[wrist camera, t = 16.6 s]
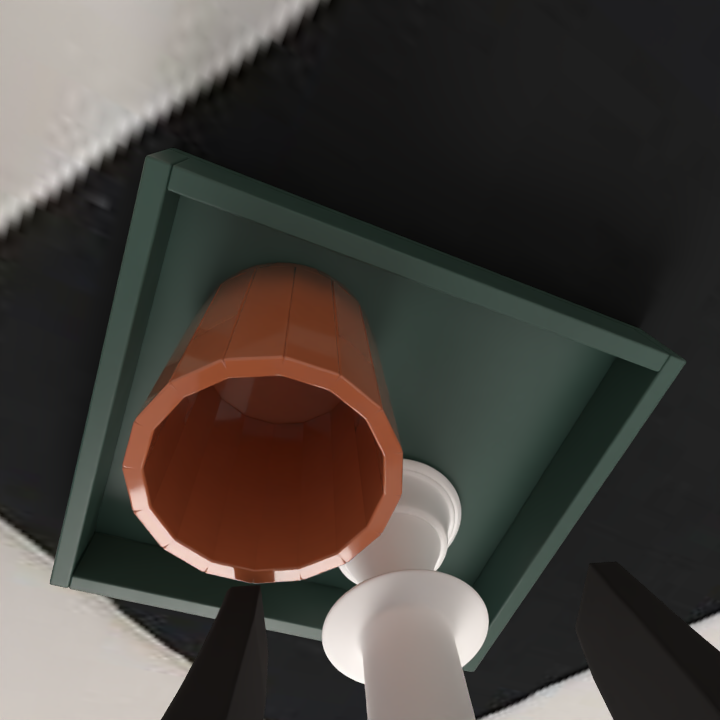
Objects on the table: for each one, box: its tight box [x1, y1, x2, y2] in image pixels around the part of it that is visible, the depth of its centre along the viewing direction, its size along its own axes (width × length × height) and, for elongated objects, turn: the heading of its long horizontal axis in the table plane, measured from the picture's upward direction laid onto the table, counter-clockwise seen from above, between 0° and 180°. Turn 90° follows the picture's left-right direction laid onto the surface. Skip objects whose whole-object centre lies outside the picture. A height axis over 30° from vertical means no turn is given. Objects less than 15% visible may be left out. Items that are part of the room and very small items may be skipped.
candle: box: [322, 459, 489, 720], centre depth 14 cm, size 5×5×12 cm
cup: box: [122, 262, 403, 584], centre depth 14 cm, size 5×5×6 cm
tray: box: [50, 148, 686, 672], centre depth 18 cm, size 15×14×2 cm
